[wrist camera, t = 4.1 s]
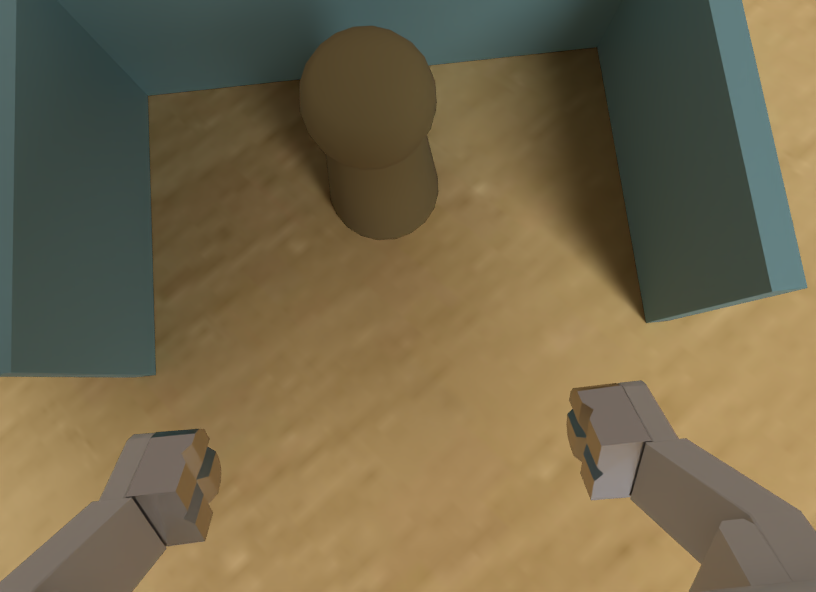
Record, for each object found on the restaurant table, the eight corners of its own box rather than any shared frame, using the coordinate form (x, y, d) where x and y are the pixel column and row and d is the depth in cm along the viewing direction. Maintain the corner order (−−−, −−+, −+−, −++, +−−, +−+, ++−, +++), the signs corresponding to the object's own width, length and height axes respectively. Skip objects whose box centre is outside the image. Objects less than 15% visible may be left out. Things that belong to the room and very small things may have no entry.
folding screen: (668, 320, 28) (807, 288, 18) (133, 377, 28) (-24, 376, 18) (614, 26, 30) (708, -145, 21) (126, 78, 31) (-13, -66, 21)
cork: (310, 169, 29) (247, 45, 19) (403, 117, 30) (395, -33, 19) (363, 260, 29) (329, 186, 18) (458, 205, 29) (483, 101, 18)
